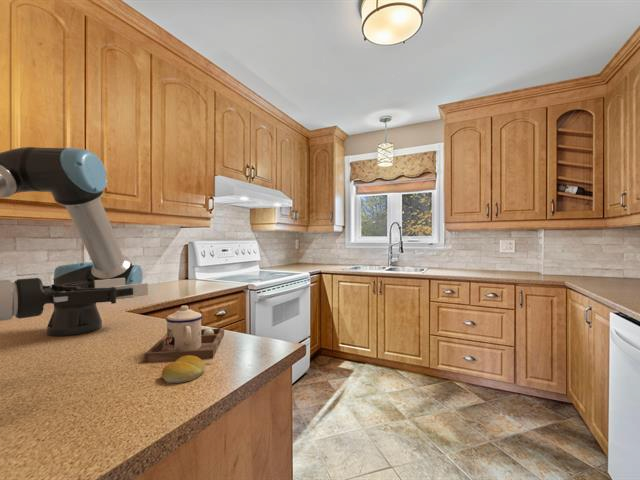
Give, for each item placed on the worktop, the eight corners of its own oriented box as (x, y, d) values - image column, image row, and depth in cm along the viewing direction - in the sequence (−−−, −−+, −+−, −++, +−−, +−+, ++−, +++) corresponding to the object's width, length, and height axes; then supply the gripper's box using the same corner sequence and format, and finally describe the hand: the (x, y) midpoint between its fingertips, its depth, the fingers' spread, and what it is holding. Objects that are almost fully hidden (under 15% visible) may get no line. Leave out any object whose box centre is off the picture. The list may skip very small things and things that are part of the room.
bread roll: (153, 383, 69) (153, 364, 69) (181, 367, 77) (181, 350, 77) (187, 387, 67) (187, 367, 67) (211, 370, 75) (211, 353, 75)
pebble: (204, 337, 98) (204, 327, 98) (214, 336, 98) (214, 327, 98) (202, 340, 95) (202, 330, 95) (213, 339, 95) (213, 329, 95)
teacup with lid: (164, 347, 89) (164, 305, 89) (198, 341, 93) (198, 302, 93) (169, 360, 78) (169, 313, 78) (207, 354, 83) (207, 309, 83)
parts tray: (170, 340, 98) (170, 330, 98) (224, 337, 101) (224, 328, 101) (144, 366, 77) (144, 353, 77) (213, 361, 80) (213, 349, 80)
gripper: (5, 309, 69) (116, 295, 85) (25, 331, 53) (158, 309, 69) (5, 274, 69) (116, 267, 85) (25, 286, 53) (157, 274, 69)
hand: (135, 285), depth 77 cm, fingers open, 13 cm apart
